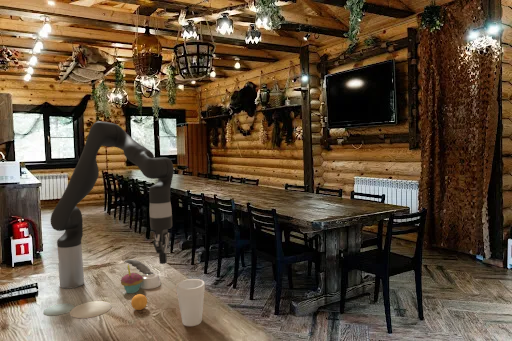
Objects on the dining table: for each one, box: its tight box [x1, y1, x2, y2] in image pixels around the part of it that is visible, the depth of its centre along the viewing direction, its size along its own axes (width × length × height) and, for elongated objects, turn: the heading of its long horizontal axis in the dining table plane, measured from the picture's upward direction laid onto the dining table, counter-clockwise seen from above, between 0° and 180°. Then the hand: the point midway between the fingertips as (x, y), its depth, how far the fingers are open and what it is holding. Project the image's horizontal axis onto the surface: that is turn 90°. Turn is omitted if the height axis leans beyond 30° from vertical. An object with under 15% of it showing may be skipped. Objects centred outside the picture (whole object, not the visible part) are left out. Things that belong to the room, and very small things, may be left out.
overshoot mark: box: [43, 302, 75, 317], centre depth 152 cm, size 10×10×1 cm
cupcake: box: [120, 264, 143, 294], centre depth 167 cm, size 9×8×12 cm
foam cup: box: [175, 278, 206, 327], centre depth 138 cm, size 10×9×13 cm
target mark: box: [69, 300, 112, 319], centre depth 151 cm, size 14×14×1 cm
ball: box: [130, 293, 148, 311], centre depth 149 cm, size 6×6×6 cm
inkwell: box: [124, 258, 162, 290], centre depth 175 cm, size 9×18×10 cm, turn 67°
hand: (163, 263), depth 147 cm, fingers closed
